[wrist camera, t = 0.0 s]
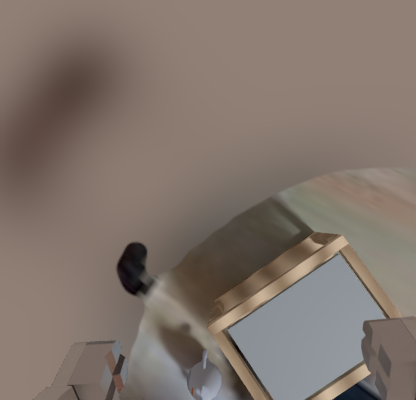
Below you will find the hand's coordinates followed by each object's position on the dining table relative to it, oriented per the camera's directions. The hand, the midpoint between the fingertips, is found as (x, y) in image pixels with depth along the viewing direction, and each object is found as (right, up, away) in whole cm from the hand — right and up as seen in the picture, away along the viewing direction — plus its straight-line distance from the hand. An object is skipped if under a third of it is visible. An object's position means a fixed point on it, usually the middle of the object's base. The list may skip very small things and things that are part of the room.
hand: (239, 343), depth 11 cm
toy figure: (-1, -29, +53) cm, 60 cm away
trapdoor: (+14, -15, +39) cm, 44 cm away
